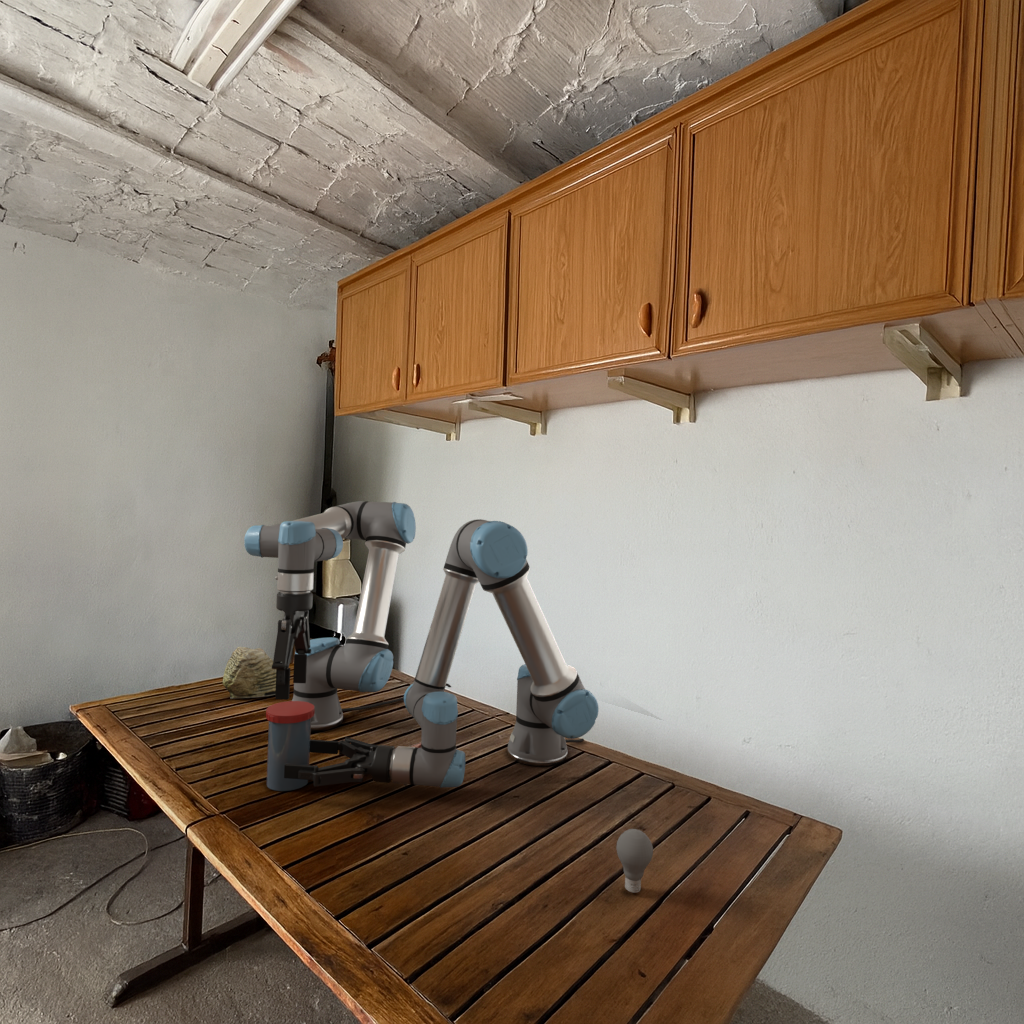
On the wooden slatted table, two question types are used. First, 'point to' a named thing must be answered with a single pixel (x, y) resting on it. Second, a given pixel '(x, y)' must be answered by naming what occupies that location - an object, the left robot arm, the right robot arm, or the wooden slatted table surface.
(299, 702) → the lid
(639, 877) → the light bulb
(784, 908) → the wooden slatted table surface
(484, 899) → the wooden slatted table surface
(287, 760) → the jar
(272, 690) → the fossil
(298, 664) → the left robot arm
